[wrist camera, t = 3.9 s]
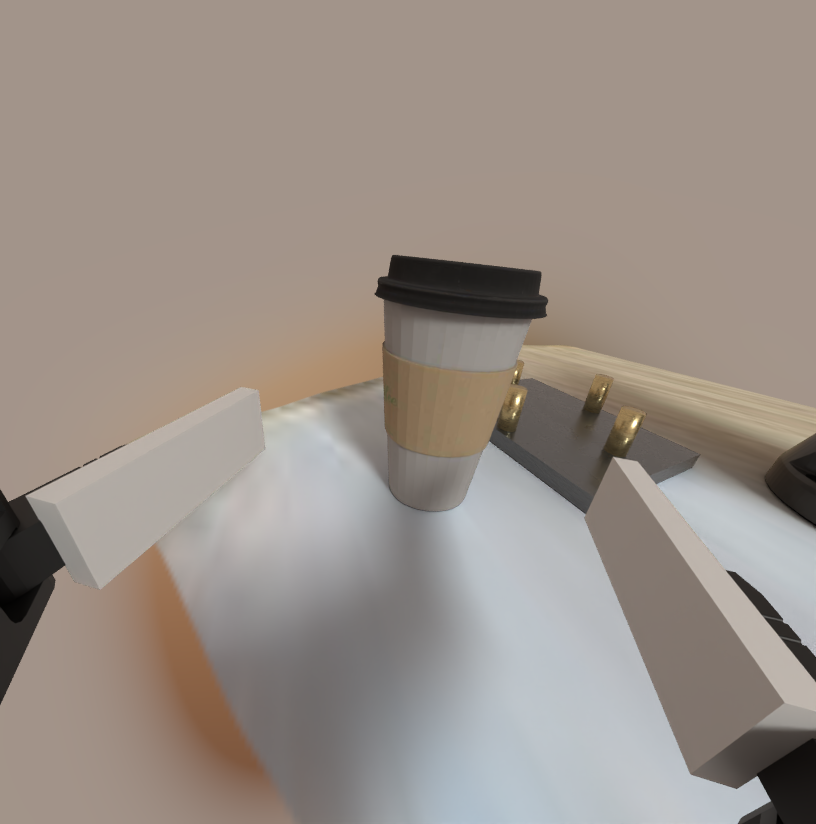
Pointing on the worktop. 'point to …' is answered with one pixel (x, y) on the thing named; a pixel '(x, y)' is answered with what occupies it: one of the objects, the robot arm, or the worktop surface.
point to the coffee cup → (448, 368)
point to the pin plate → (579, 438)
